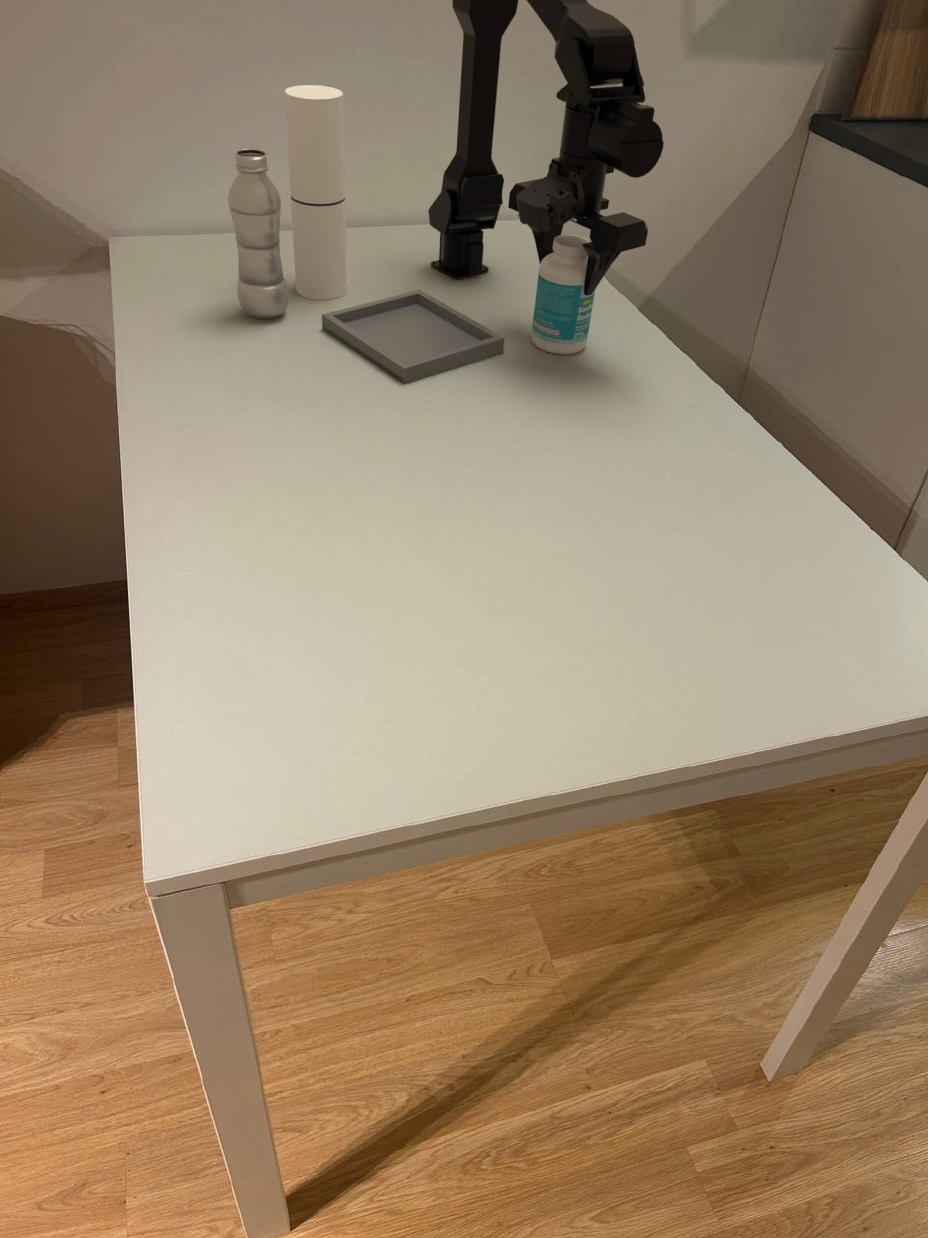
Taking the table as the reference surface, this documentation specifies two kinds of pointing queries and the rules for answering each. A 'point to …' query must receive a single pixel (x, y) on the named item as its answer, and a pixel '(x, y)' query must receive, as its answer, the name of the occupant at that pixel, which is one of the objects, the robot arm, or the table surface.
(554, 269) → the pill bottle
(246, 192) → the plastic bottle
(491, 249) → the table surface
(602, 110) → the robot arm
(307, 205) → the cylindrical container
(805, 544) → the table surface
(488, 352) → the tray
